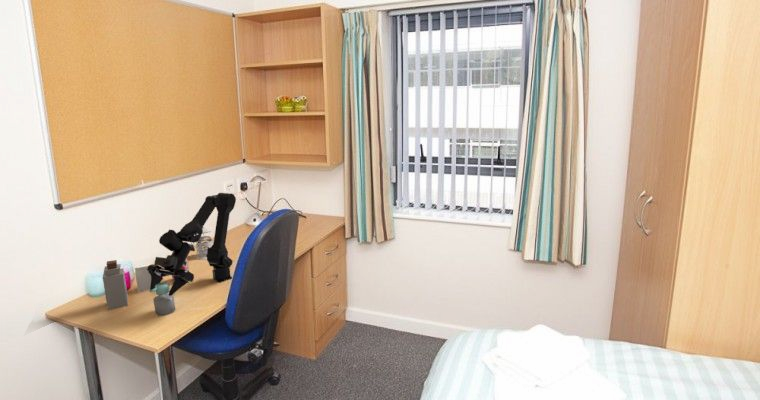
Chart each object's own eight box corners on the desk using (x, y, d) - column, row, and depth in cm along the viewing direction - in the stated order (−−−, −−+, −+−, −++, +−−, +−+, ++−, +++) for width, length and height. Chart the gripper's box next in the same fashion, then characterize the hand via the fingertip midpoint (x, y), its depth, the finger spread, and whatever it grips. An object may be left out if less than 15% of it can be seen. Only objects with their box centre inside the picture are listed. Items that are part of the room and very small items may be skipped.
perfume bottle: (107, 309, 172) (100, 266, 168) (109, 302, 178) (102, 260, 174) (127, 305, 175) (121, 263, 171) (128, 299, 181) (121, 257, 177)
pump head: (163, 293, 172) (162, 281, 171) (173, 295, 170) (171, 283, 169) (148, 301, 165) (146, 289, 164) (158, 303, 164) (156, 291, 163)
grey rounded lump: (165, 305, 175) (163, 292, 173) (179, 308, 172) (177, 295, 171) (151, 313, 168) (149, 300, 167) (165, 316, 166) (163, 302, 165)
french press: (211, 259, 224) (206, 211, 218) (188, 259, 224) (183, 211, 219) (218, 252, 234) (214, 206, 228) (196, 252, 234) (191, 207, 228)
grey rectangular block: (155, 288, 191) (152, 266, 188) (138, 291, 188) (134, 269, 185) (155, 285, 194) (152, 264, 192) (138, 288, 191) (135, 266, 189)
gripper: (147, 244, 172) (126, 282, 164) (185, 250, 165) (165, 289, 158) (165, 257, 181) (147, 293, 173) (202, 262, 174) (184, 300, 167)
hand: (160, 293), depth 167 cm, fingers open, 9 cm apart
